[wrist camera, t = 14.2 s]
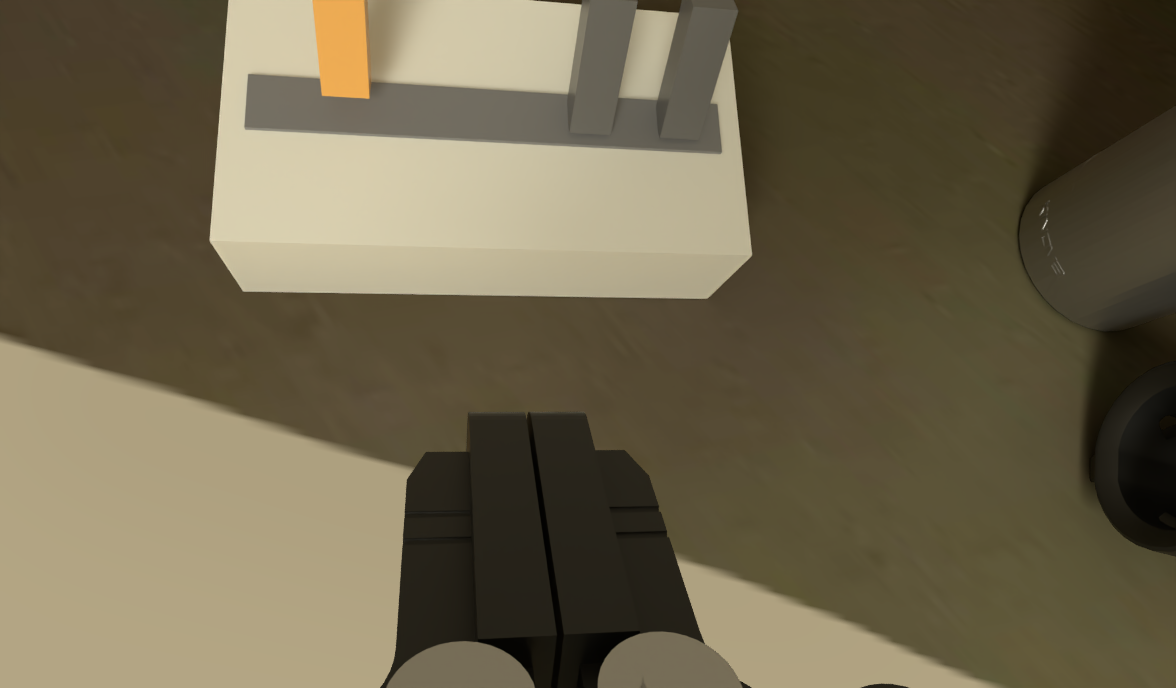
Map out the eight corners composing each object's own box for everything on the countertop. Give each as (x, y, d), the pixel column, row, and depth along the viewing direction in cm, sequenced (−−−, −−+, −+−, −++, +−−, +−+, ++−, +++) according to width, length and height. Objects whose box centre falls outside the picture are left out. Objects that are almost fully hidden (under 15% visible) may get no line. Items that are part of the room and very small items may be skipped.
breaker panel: (688, 88, 44) (777, -76, 33) (707, 298, 41) (812, 197, 30) (258, 59, 40) (192, -141, 29) (243, 291, 37) (161, 169, 26)
